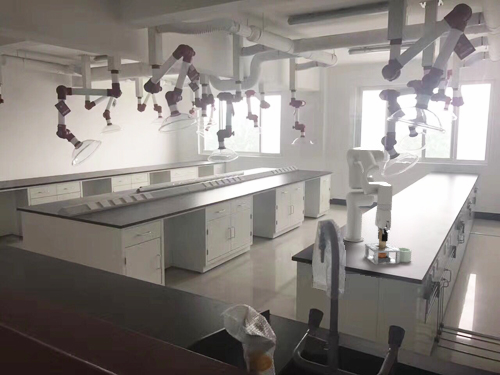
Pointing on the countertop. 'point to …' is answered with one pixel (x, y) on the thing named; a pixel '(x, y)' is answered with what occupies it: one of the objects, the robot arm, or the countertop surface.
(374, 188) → the robot arm
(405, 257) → the holder
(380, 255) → the breaker plunger
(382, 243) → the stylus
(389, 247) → the breaker guard
